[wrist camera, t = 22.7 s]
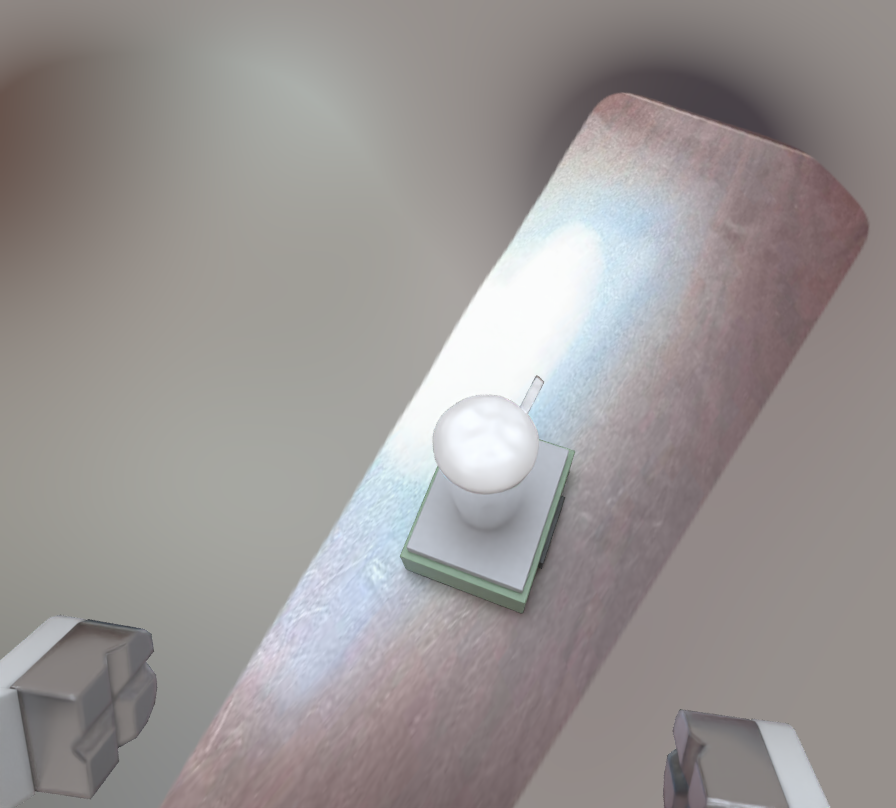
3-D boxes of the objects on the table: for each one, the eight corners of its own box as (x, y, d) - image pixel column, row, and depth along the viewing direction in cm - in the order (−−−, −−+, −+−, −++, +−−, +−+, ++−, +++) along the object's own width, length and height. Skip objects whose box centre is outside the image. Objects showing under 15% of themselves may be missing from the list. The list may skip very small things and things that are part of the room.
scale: (573, 471, 41) (581, 446, 37) (526, 615, 37) (530, 602, 34) (461, 434, 42) (458, 406, 39) (405, 569, 39) (397, 552, 35)
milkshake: (557, 496, 36) (580, 415, 27) (482, 561, 35) (479, 498, 26) (501, 437, 38) (504, 343, 29) (427, 497, 36) (406, 418, 28)
